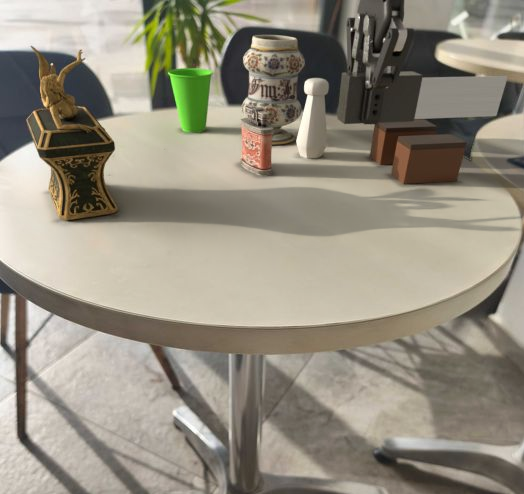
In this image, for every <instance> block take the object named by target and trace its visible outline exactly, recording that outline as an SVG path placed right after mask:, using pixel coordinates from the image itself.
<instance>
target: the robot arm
mask: <svg viewBox="0 0 524 494" xmlns="http://www.w3.org/2000/svg"><path fill="white" fill-rule="evenodd" d="M404 18H405V0H359V3H358V6H357V11H356V15H355V17H347V19H346V23H345V26H346V28H345V29H346V61H347V63H346V65H347V73H349V72H366V77H365V88H366V89H364V96H363V103H362V110H361V117H360V121H361V122H362V123H361V124H362V125H375V124H377V123H378V122H379V121H380V115H381V109H382V103H383V96H384V90H385V89H387V88H388V86H390V85H395V84H396V82H397V80H398V77H399V75H400V72H402V69H403V67H404V64H405V62H406V59H407V56H408V54H409V52H410V48H411V46H412V43H413V40H414V38H415V30H414V28H413V27H412V28H410V27H406V28H405V25H404V24H403V22H404Z"/></svg>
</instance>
